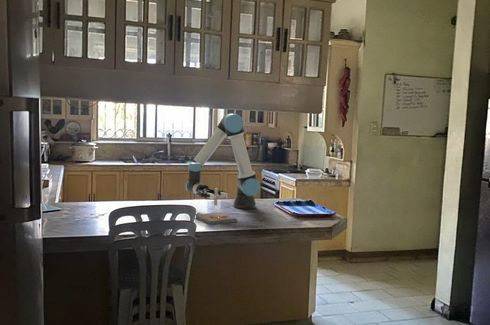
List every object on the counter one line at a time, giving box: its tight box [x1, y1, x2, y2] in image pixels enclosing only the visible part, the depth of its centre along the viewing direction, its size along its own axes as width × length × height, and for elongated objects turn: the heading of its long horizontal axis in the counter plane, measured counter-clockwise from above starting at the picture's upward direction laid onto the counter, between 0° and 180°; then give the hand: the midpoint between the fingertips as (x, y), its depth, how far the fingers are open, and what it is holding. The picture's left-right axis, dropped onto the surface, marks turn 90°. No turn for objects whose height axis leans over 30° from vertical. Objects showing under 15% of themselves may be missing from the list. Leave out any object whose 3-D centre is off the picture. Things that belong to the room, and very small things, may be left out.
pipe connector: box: [212, 187, 226, 206], centre depth 268 cm, size 10×10×10 cm
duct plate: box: [195, 212, 238, 226], centre depth 269 cm, size 18×18×2 cm
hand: (220, 196), depth 264 cm, fingers closed on pipe connector, 8 cm apart
